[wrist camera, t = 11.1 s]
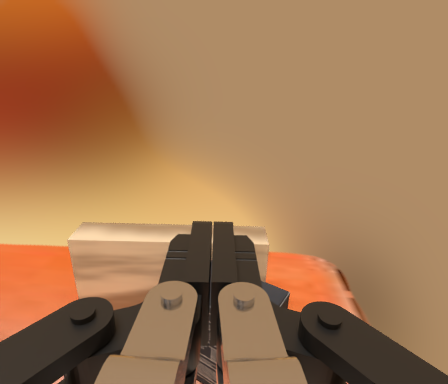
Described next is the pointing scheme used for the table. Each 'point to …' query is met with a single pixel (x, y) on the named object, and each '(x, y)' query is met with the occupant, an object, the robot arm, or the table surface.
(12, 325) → the table surface
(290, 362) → the robot arm
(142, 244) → the maple board
